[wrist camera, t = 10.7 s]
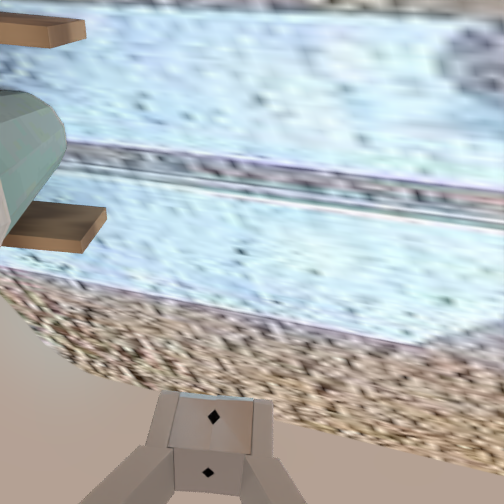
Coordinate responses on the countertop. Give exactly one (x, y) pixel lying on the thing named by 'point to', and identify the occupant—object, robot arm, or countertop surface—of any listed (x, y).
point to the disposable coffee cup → (26, 152)
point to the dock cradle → (46, 213)
